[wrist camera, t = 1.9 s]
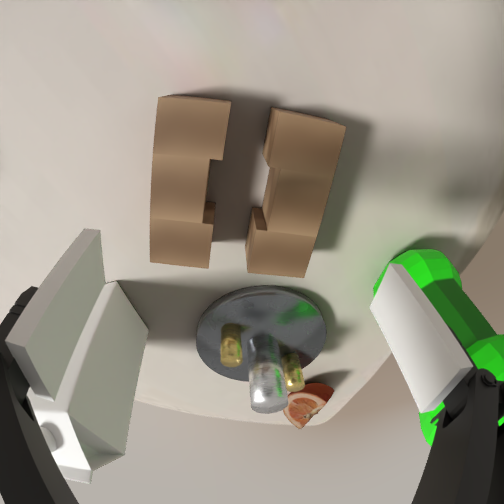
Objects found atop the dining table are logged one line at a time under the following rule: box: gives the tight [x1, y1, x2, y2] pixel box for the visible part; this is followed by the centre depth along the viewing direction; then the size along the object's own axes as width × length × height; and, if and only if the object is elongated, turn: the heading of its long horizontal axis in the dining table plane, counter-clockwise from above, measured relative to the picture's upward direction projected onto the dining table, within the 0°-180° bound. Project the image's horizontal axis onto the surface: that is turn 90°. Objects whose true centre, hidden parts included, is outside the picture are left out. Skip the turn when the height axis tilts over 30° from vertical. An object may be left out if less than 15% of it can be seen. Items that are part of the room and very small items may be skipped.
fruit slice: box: [283, 383, 334, 429], centre depth 37 cm, size 8×7×5 cm
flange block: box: [150, 95, 346, 278], centre depth 22 cm, size 12×12×4 cm
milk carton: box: [27, 281, 149, 484], centre depth 22 cm, size 7×7×19 cm
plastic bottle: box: [373, 249, 504, 446], centre depth 19 cm, size 10×10×25 cm
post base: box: [196, 286, 326, 413], centre depth 29 cm, size 14×14×9 cm
